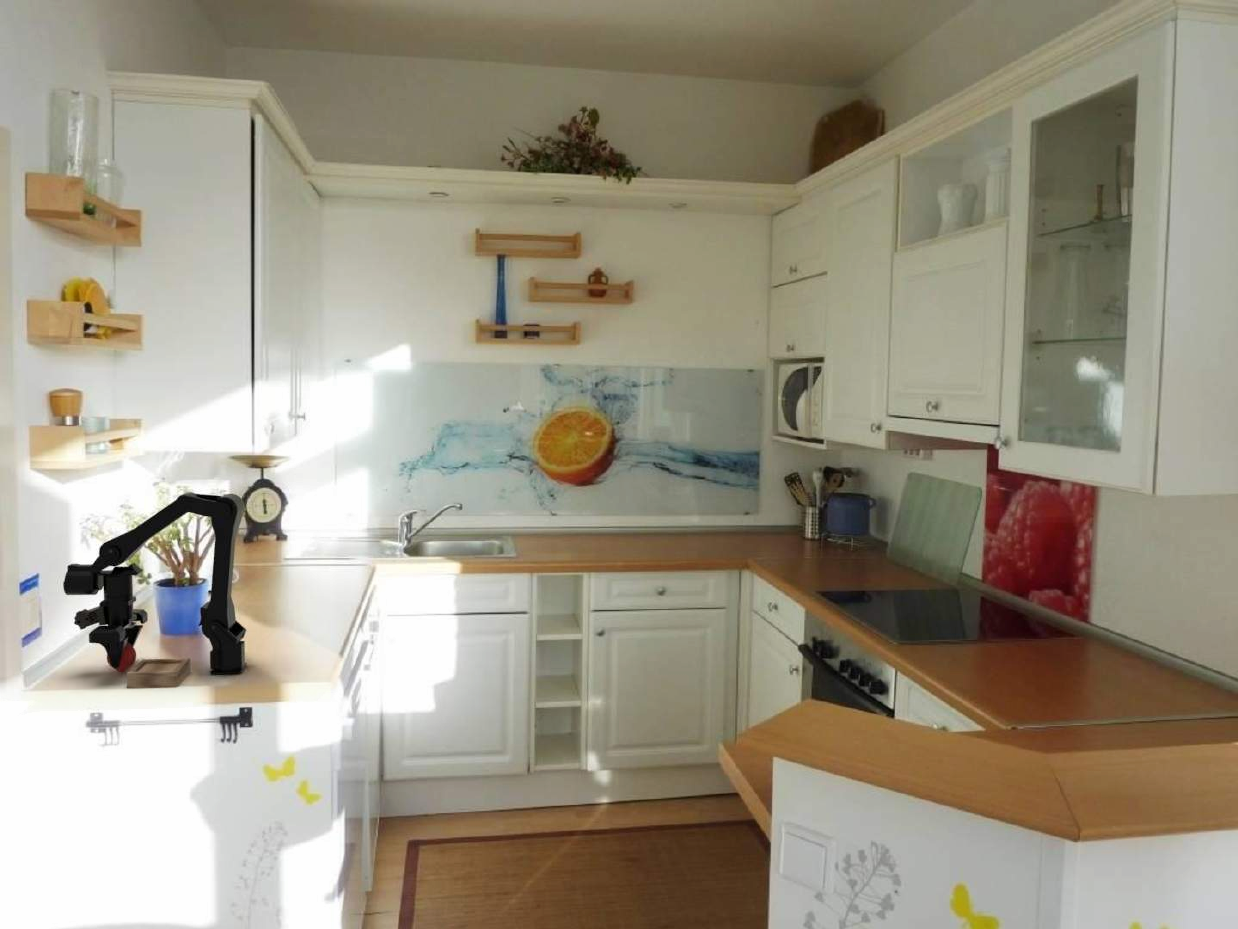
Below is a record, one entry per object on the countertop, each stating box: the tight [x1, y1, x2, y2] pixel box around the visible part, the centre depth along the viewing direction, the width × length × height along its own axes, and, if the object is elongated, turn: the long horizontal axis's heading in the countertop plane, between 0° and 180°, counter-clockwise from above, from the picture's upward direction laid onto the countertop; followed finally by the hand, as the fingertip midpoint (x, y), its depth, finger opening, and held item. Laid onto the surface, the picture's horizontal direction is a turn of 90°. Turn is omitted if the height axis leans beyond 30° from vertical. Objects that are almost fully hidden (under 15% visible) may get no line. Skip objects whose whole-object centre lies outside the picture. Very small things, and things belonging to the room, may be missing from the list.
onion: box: [106, 642, 137, 674], centre depth 217 cm, size 6×6×8 cm
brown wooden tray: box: [126, 658, 191, 689], centre depth 213 cm, size 10×10×3 cm
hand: (120, 663), depth 218 cm, fingers closed on onion, 6 cm apart
